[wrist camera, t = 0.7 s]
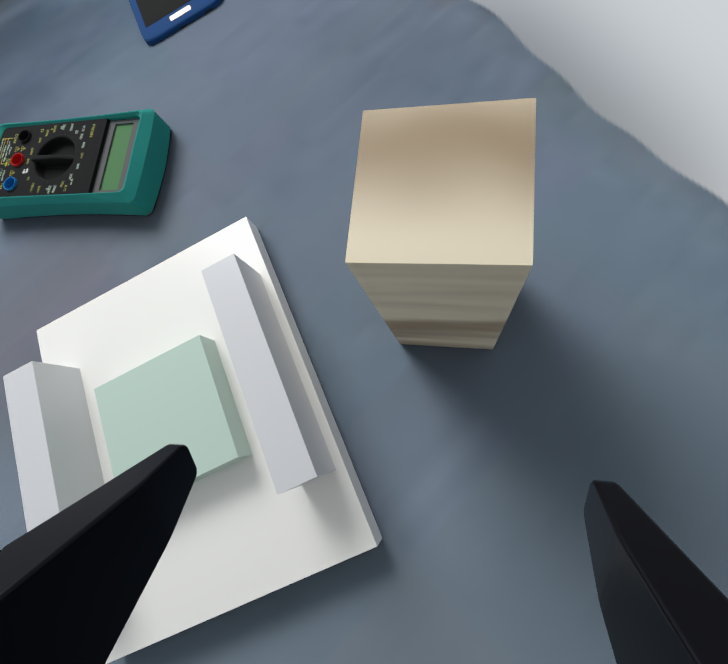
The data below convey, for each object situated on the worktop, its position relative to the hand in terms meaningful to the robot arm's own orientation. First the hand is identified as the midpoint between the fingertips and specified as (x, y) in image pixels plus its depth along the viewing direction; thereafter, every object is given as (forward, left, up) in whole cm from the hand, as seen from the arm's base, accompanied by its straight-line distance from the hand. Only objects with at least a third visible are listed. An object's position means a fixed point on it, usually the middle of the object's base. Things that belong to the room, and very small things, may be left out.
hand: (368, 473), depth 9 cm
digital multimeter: (+32, +2, -14) cm, 35 cm away
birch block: (+4, -7, -13) cm, 15 cm away
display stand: (+11, +8, -13) cm, 19 cm away
